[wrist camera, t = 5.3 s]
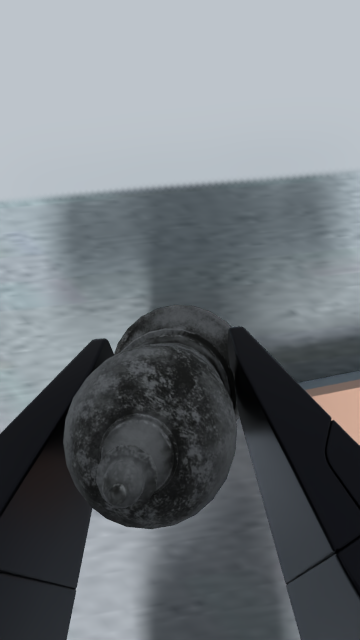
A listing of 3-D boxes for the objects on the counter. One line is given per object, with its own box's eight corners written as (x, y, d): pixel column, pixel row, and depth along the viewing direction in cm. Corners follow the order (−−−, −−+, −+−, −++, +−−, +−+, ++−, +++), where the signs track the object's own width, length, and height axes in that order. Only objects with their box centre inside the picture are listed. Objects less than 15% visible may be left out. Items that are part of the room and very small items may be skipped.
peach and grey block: (411, 493, 16) (469, 536, 13) (283, 515, 17) (306, 562, 13) (377, 367, 17) (424, 375, 14) (255, 391, 17) (269, 404, 14)
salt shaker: (110, 370, 15) (-272, 511, 3) (179, 291, 15) (95, 92, 3) (189, 444, 14) (140, 1023, 2) (261, 361, 14) (599, 485, 2)
